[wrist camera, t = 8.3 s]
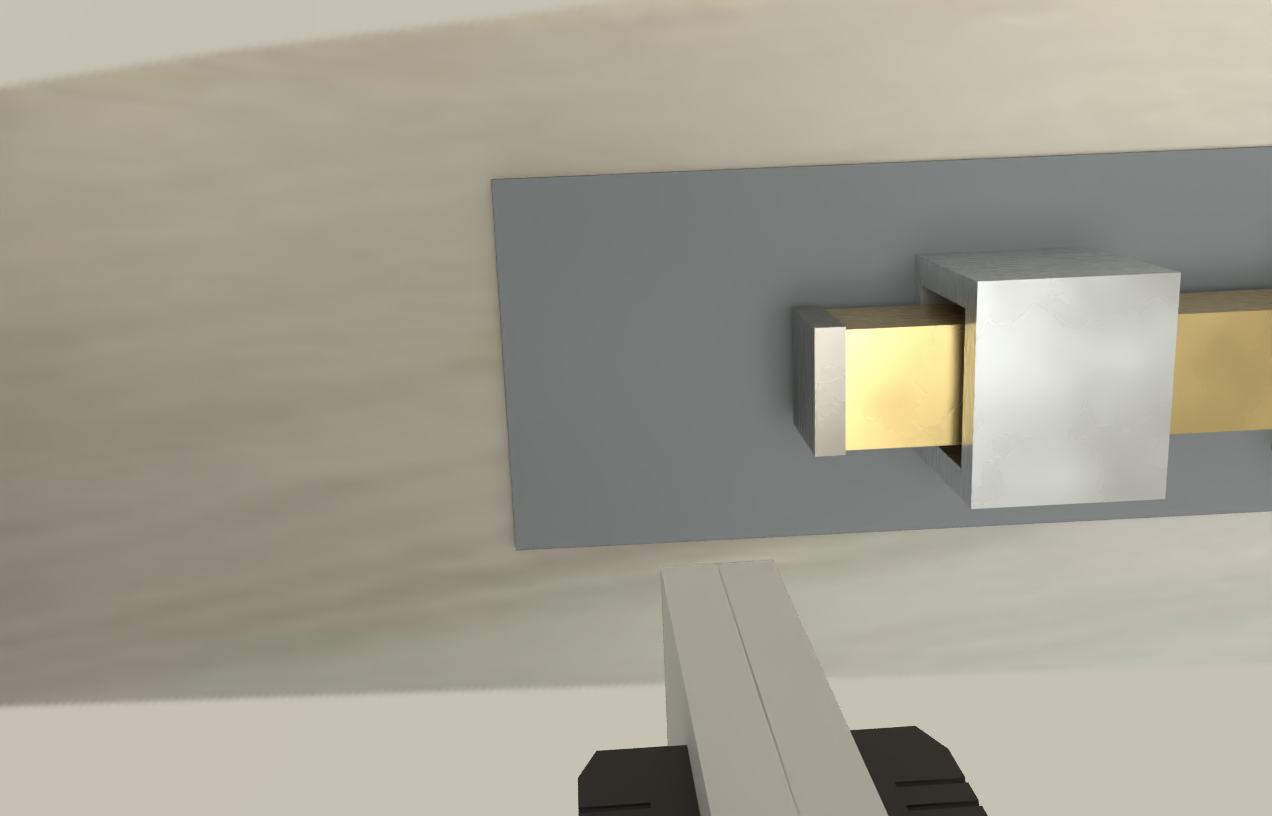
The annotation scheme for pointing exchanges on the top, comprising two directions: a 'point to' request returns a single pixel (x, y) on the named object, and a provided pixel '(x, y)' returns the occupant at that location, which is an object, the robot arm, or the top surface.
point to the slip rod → (934, 371)
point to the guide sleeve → (1057, 375)
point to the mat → (763, 343)
